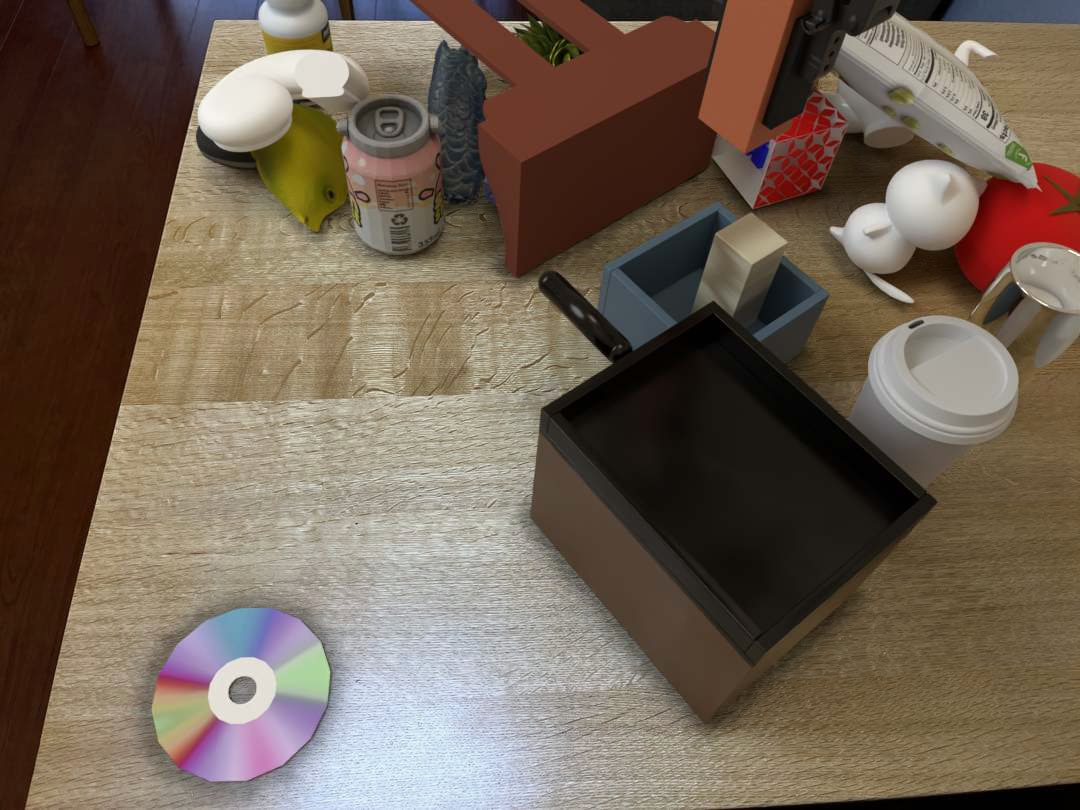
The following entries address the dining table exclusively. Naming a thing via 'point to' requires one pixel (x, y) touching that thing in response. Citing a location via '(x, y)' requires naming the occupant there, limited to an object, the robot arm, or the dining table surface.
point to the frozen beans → (933, 97)
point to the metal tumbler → (1033, 305)
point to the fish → (306, 166)
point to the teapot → (876, 122)
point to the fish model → (458, 120)
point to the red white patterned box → (786, 156)
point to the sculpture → (277, 96)
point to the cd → (256, 726)
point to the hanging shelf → (583, 120)
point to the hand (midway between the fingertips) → (752, 95)
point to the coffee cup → (935, 393)
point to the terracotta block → (748, 69)
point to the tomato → (1020, 221)
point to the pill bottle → (295, 27)
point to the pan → (711, 497)
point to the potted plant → (547, 43)
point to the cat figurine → (911, 219)
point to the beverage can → (394, 173)
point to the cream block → (741, 269)
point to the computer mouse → (226, 152)
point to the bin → (673, 280)
